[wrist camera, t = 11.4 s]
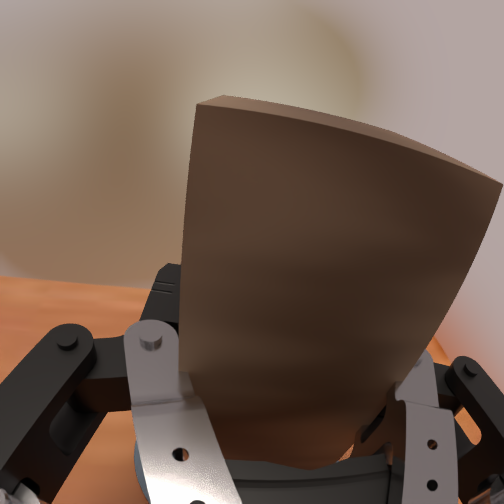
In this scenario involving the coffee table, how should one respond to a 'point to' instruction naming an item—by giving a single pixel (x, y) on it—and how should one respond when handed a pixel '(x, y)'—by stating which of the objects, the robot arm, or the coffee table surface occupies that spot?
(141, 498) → the coffee table surface
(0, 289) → the coffee table surface
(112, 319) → the coffee table surface
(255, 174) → the walnut block
